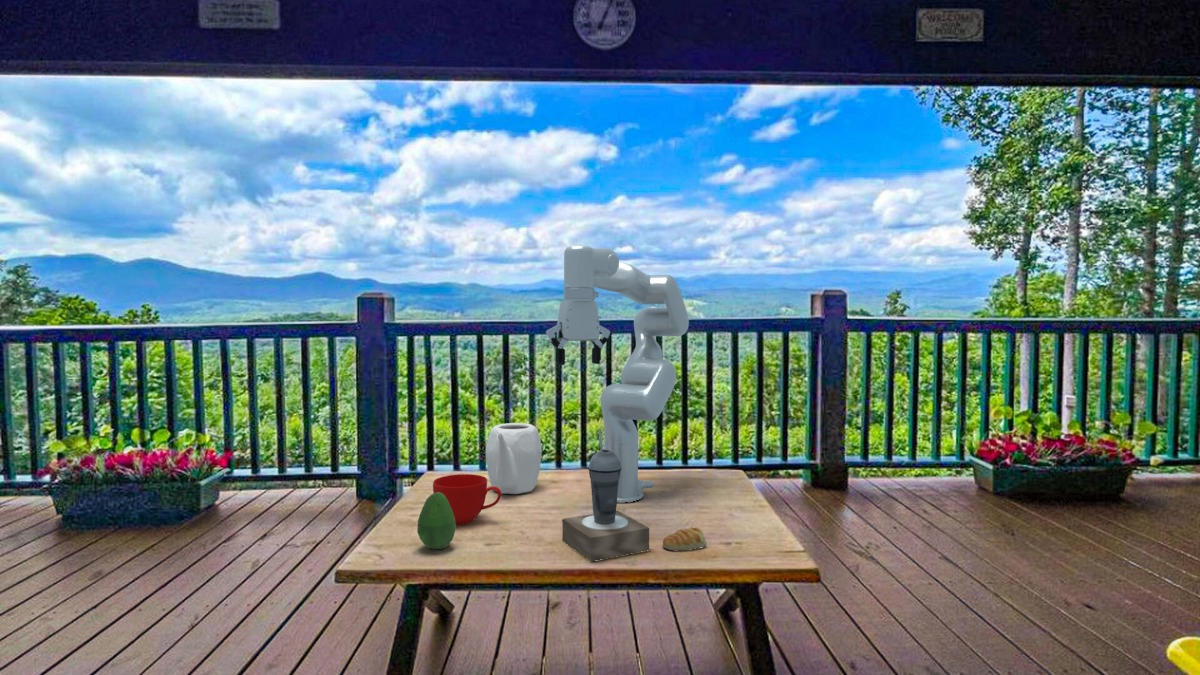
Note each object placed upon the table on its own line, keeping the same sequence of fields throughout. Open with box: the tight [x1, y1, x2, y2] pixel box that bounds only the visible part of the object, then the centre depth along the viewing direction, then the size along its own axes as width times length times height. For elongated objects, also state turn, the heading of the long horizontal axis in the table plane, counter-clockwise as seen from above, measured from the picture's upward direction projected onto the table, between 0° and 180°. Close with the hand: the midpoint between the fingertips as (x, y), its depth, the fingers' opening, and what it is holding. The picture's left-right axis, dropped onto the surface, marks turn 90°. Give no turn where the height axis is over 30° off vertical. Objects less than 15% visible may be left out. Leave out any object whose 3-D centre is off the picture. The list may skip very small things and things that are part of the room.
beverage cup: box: [588, 429, 621, 525], centre depth 137 cm, size 7×7×20 cm
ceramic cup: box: [432, 473, 502, 526], centre depth 153 cm, size 13×17×10 cm
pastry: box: [662, 526, 707, 551], centre depth 137 cm, size 9×7×4 cm
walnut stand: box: [561, 509, 650, 562], centre depth 137 cm, size 14×14×5 cm
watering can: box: [485, 422, 543, 495], centre depth 181 cm, size 16×27×19 cm, turn 172°
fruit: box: [416, 492, 457, 550], centre depth 135 cm, size 8×8×12 cm
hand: (578, 364), depth 158 cm, fingers open, 9 cm apart
